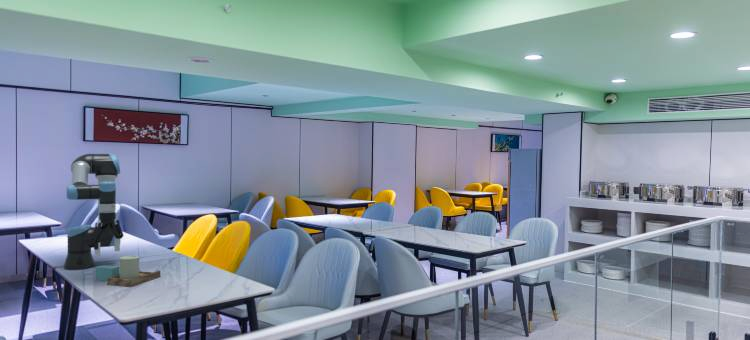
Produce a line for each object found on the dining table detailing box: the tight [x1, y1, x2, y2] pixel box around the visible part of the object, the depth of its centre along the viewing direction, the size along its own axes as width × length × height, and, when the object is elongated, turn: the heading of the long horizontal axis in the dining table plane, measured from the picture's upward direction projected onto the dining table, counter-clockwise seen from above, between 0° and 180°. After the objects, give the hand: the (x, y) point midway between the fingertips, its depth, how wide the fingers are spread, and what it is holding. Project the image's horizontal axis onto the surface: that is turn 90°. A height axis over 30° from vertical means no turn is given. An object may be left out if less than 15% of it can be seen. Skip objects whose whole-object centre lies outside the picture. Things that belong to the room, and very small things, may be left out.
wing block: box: [95, 264, 120, 283], centre depth 269 cm, size 10×5×7 cm, turn 76°
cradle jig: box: [106, 270, 161, 288], centre depth 269 cm, size 14×22×3 cm, turn 166°
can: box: [118, 255, 140, 280], centre depth 265 cm, size 9×9×12 cm
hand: (107, 253), depth 268 cm, fingers open, 13 cm apart
